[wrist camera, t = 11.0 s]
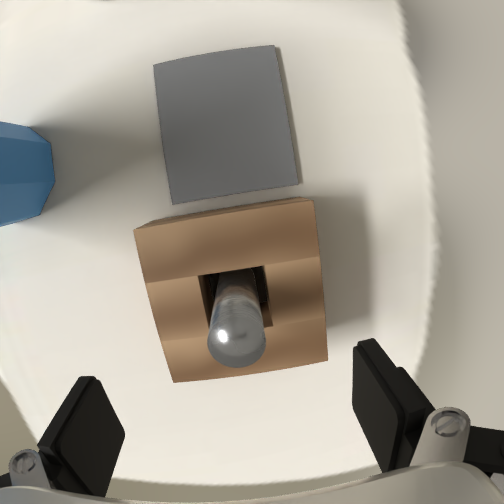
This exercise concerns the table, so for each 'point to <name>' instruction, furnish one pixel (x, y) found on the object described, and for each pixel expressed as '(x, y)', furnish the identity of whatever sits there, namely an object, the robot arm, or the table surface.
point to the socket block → (232, 258)
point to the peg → (236, 320)
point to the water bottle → (23, 173)
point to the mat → (224, 124)
